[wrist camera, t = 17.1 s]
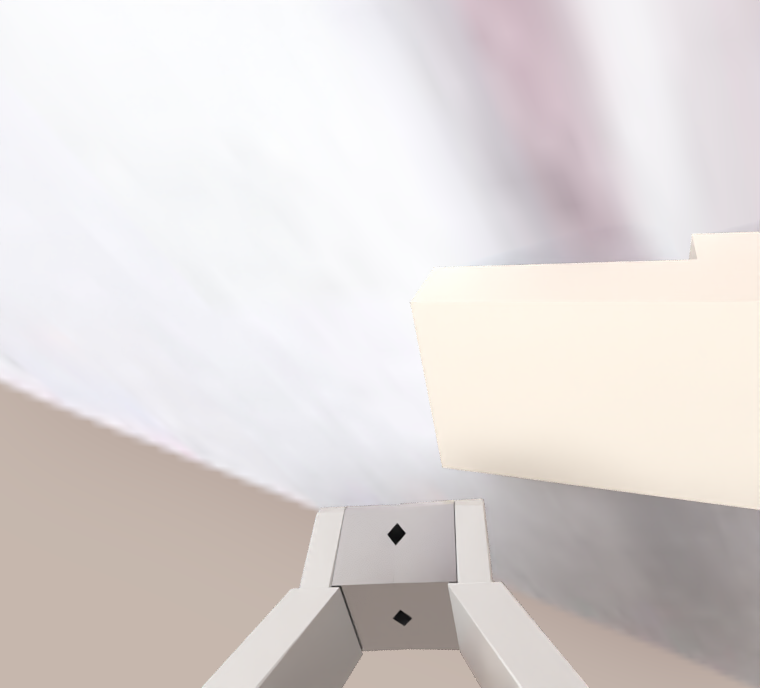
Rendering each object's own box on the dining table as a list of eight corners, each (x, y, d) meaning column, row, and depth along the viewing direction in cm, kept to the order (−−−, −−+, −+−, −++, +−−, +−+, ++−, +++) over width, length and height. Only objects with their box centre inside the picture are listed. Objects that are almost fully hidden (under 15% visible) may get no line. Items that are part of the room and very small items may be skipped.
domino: (434, 267, 13) (849, 254, 10) (459, 423, 16) (796, 456, 12) (410, 302, 12) (884, 301, 8) (442, 467, 14) (816, 517, 11)
